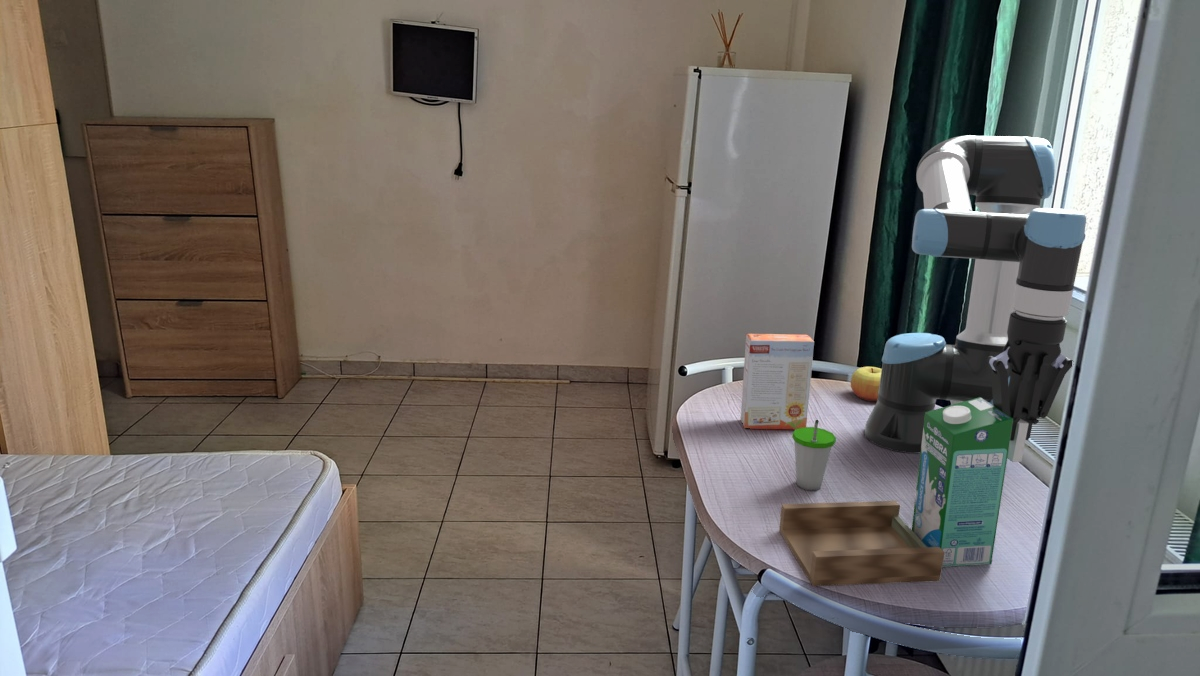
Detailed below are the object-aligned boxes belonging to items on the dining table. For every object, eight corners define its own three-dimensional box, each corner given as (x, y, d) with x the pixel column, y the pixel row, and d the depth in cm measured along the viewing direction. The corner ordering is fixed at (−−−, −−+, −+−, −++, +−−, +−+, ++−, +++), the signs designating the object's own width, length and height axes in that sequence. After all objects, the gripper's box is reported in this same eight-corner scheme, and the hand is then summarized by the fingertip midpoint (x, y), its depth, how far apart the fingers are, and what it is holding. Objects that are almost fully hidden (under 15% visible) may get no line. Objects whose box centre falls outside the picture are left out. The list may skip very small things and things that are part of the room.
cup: (801, 471, 154) (809, 400, 150) (837, 485, 149) (846, 412, 144) (779, 484, 149) (786, 411, 144) (816, 498, 143) (824, 423, 139)
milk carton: (910, 537, 131) (926, 398, 124) (961, 534, 132) (980, 395, 125) (936, 567, 123) (955, 420, 115) (991, 564, 123) (1014, 417, 116)
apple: (851, 403, 191) (855, 372, 189) (846, 389, 200) (850, 359, 198) (893, 406, 189) (898, 375, 187) (886, 392, 199) (890, 362, 196)
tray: (892, 526, 134) (895, 500, 133) (939, 581, 119) (944, 552, 118) (779, 530, 132) (781, 504, 131) (812, 586, 117) (816, 557, 116)
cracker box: (800, 420, 179) (809, 333, 173) (806, 431, 174) (815, 341, 168) (739, 419, 179) (746, 331, 173) (743, 429, 174) (750, 339, 168)
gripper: (1062, 307, 121) (1035, 447, 128) (983, 307, 119) (959, 449, 126) (1097, 320, 114) (1065, 467, 120) (1013, 320, 112) (986, 469, 119)
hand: (1011, 458), depth 123 cm, fingers closed
